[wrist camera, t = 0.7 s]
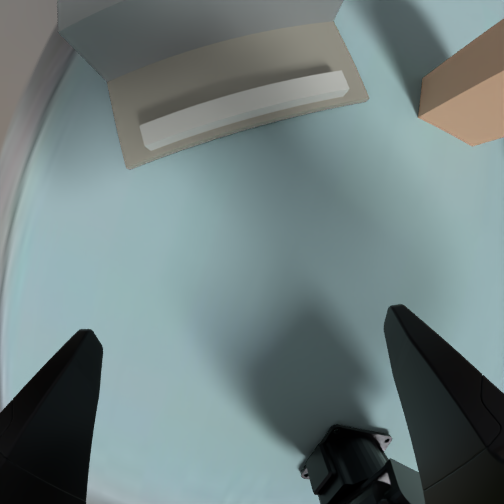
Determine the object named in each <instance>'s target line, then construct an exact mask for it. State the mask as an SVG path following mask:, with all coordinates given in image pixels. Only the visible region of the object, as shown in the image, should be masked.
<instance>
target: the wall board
mask: <svg viewBox="0 0 504 504" xmlns="http://www.w3.org/2000/svg"><path fill="white" fill-rule="evenodd" d="M342 2H343V0H58V2H57V3H58V5H57V8H58V33H59V34H60V35H61V36H62V37H63V38H64V39H65V40H66V41H67V42H68V43H69V44H70V45H71V46H72V47H73V48H74V49H75V50H76V51H77V52H78V53H79V54H80V55H81V56H82V57H83V58H84V59H85V60H86V61H87V62H88V63H89V64H90V65H91V66H92V67H93V68H94V69H95V70H96V71H97V72H98V73H99V74H100V75H101V76H102V78H103V79H104V80H105V81H106V82H107V84H108V90H109V95H110V100H111V105H112V109H113V114H114V119H115V123H116V128H117V132H118V136H119V141H120V145H121V149H122V153H123V157H124V161H125V165H126V168H127V169H130V170H131V169H133V168H136V167H138V166H141V165H143V164H146V163H148V162H151V161H154V160H156V159H159V158H162V157H164V156H167V155H170V154H173V153H176V152H178V151H181V150H184V149H187V148H190V147H193V146H196V145H199V144H202V143H205V142H208V141H211V140H214V139H217V138H221V137H224V136H227V135H230V134H234V133H237V132H240V131H244V130H247V129H251V128H254V127H258V126H261V125H265V124H269V123H273V122H276V121H280V120H284V119H288V118H292V117H296V116H300V115H305V114H309V113H313V112H318V111H322V110H327V109H332V108H336V107H341V106H346V105H352V104H357V103H362V102H366V101H367V100H368V99H369V96H368V94H367V91H366V89H365V86H364V84H363V82H362V79H361V77H360V75H359V73H358V70H357V68H356V66H355V64H354V62H353V60H352V57H351V55H350V53H349V51H348V49H347V47H346V45H345V43H344V41H343V39H342V37H341V35H340V33H339V31H338V29H337V27H336V25H335V23H334V22H333V21H334V19H335V17H336V15H337V13H338V11H339V9H340V7H341V4H342Z"/></svg>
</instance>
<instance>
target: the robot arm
mask: <svg viewBox="0 0 504 504" xmlns="http://www.w3.org/2000/svg"><path fill="white" fill-rule="evenodd" d="M384 334H385V338H386V343H387V348H388V353H389V358H390V363H391V368H392V373H393V377H394V381H395V384H396V388H397V391H398V394H399V398H400V401H401V404H402V408H403V411H404V415H405V419H406V422H407V426H408V430H409V434H410V437H411V441H412V445H413V449H414V453H415V457H416V462H417V466H418V470H419V472H417V471H415V470H413V469H411V468H409V467H407V466H405V465H403V464H401V463H399V462H397V461H395V460H393V459H391V458H390V459H388V458H387V456H386V455H385V453H384V451H385V449H386V448H387V447H388V445H389V444H390V442H391V441H392V438H391V436H390V435H389V434H384V433H378V432H373V431H367V430H362V429H357V428H352V427H348V426H343V425H338V424H336V425H333V426H332V427H331V428H330V430H329V431H328V433H327V434H326V436H325V437H324V439H323V440H322V442H321V443H320V444H319V445H318V446H317V447H316V449H315V450H314V452H313V453H312V455H311V456H310V458H309V459H308V461H307V462H306V465H305V467H304V468H303V470H302V471H301V477H302V478H304V479H310V482H311V486H312V489H313V492H314V494H315V495H318V497H319V500H320V504H504V393H503V392H501V391H500V390H499V389H498V388H497V387H496V386H495V385H494V384H492V383H491V382H490V381H489V380H488V379H487V378H486V377H485V376H484V375H482V373H480V372H479V371H478V370H477V369H476V368H475V367H474V366H473V365H472V364H471V363H470V362H468V361H467V360H466V359H465V358H464V357H463V356H462V355H461V354H460V353H459V352H457V351H456V350H455V349H454V348H453V347H452V346H451V345H450V344H448V343H447V342H446V341H445V340H444V339H443V338H442V337H440V336H439V335H438V334H437V333H436V332H435V331H434V330H432V329H431V328H430V327H429V326H428V325H427V324H426V323H424V322H423V321H422V320H421V319H420V318H418V317H417V316H416V315H415V314H414V313H413V312H411V311H410V310H409V309H408V308H407V307H406V306H404V305H402V304H398V305H391V306H390V307H389V308H388V311H387V315H386V319H385V322H384ZM102 358H103V347H102V345H101V343H100V341H99V340H98V338H97V337H96V335H95V334H94V332H93V331H92V330H91V329H80V330H79V331H77V332H76V333H75V334H74V335H73V336H72V337H71V338H70V339H69V340H68V341H67V342H66V343H65V344H64V345H63V346H62V347H61V349H60V350H59V351H58V352H57V353H56V354H55V355H54V356H53V357H52V358H51V359H50V360H49V361H48V362H47V363H46V364H45V365H44V366H43V367H42V368H41V369H40V370H39V371H38V372H37V373H36V375H35V376H34V377H33V378H32V379H31V380H30V381H29V382H28V383H27V384H26V385H25V386H24V387H23V388H22V390H21V391H20V392H19V393H18V394H17V395H16V396H15V397H14V398H13V400H12V401H11V402H10V403H9V404H8V405H7V406H6V407H5V408H4V409H3V410H2V411H1V413H0V504H86V495H87V483H88V472H89V462H90V453H91V445H92V438H93V430H94V423H95V417H96V411H97V405H98V399H99V391H100V380H101V368H102ZM336 429H338V430H337V431H335V430H336ZM386 439H387V440H386ZM306 473H308V474H306Z"/></svg>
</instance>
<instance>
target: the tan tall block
mask: <svg viewBox="0 0 504 504" xmlns="http://www.w3.org/2000/svg"><path fill="white" fill-rule="evenodd" d="M418 118H420V119H422V120H424V121H426V122H428V123H430V124H432V125H434V126H436V127H438V128H440V129H441V130H443V131H445V132H447V133H449V134H451V135H453V136H454V137H456V138H458V139H460V140H462V141H463V142H465V143H467V144H469V145H470V146H475V145H479V144H482V143H485V142H489V141H492V140H496V139H499V138H503V137H504V19H503V20H501V21H500V22H498V23H497V24H495V25H494V26H493V27H491V28H490V29H488V30H487V31H486V32H484V33H483V34H482V35H480V36H479V37H477V38H476V39H475V40H473V41H472V42H470V43H469V44H468V45H466V46H465V47H464V48H462V49H461V50H460V51H458V52H457V53H456V54H454V55H453V56H451V57H450V58H449V59H447V60H446V61H445V62H443V63H442V64H441V65H439V66H438V67H437V68H435V69H434V70H433V71H431V72H430V73H429V74H427V75H426V76H425V77H423V78H422V87H421V96H420V105H419V113H418Z"/></svg>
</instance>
